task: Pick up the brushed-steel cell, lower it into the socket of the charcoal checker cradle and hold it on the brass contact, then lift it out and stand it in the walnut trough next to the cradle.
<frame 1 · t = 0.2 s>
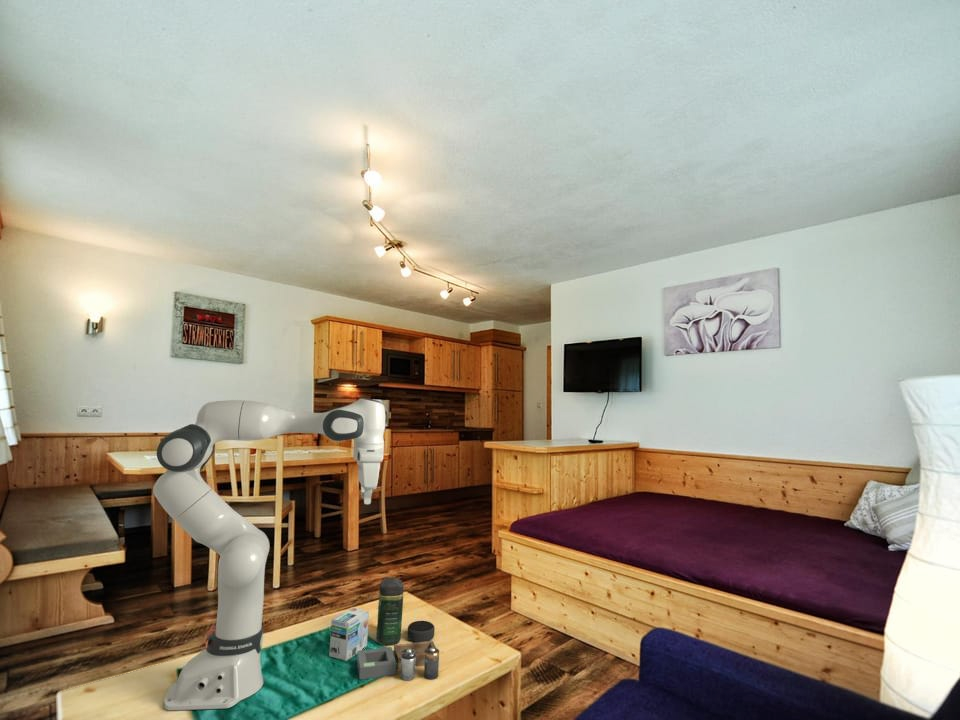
hand: (365, 500, 141), 47 cm above the table, fingers open, 8 cm apart
copper cell: (431, 675, 136), on the table
light bulb box: (348, 652, 148), on the table
cradle: (375, 668, 139), on the table
coffee jar: (388, 640, 157), on the table
trough: (415, 659, 144), on the table
steel cell: (407, 677, 135), on the table
smart speaker: (420, 638, 159), on the table
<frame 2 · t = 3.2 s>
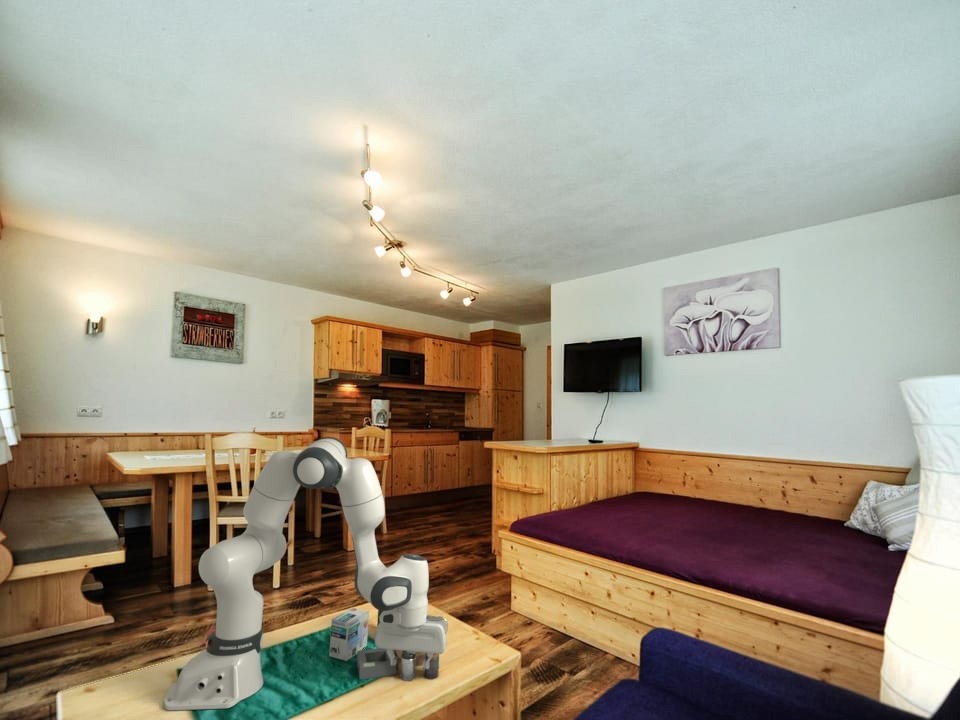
hand: (409, 666, 134), 3 cm above the table, fingers open, 8 cm apart
copper cell: (431, 675, 136), on the table, touching gripper
everything else where it was.
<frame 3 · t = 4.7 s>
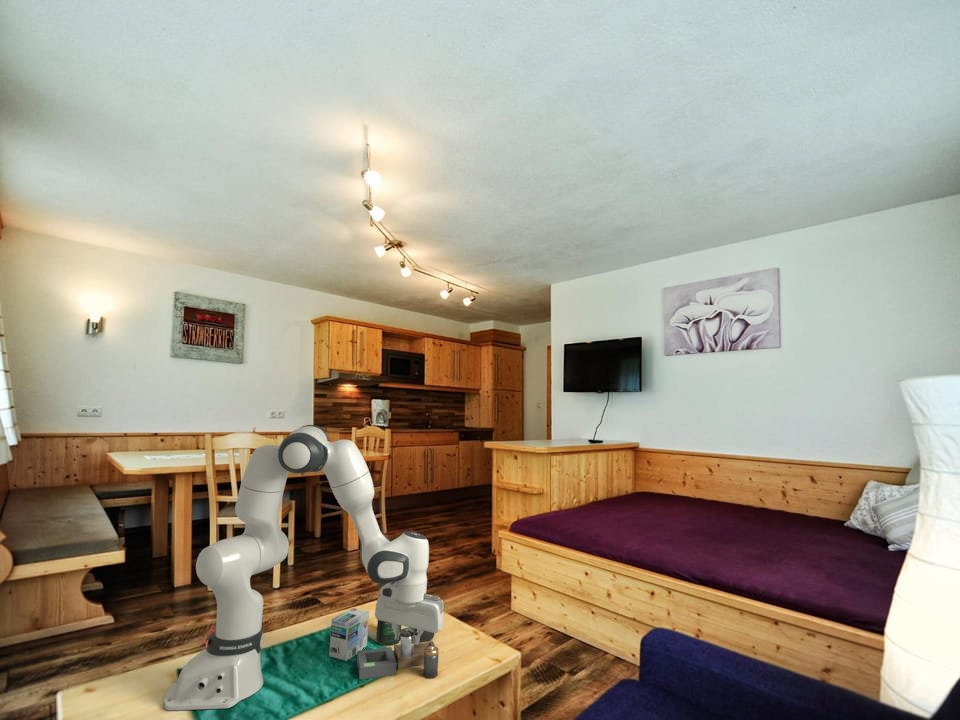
hand: (406, 641, 136), 9 cm above the table, fingers closed on steel cell, 4 cm apart
copper cell: (430, 674, 136), on the table
steel cell: (407, 655, 136), point 5 cm above the table, touching gripper
everything else where it was.
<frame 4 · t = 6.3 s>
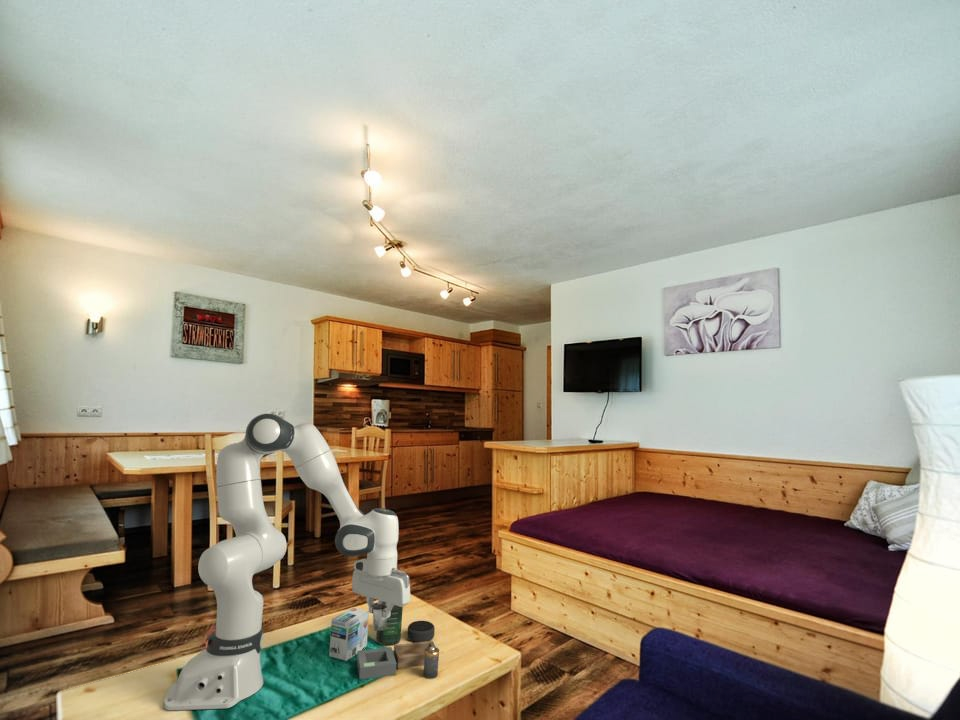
hand: (379, 614, 140), 15 cm above the table, fingers closed on steel cell, 4 cm apart
steel cell: (380, 628, 140), point 11 cm above the table, tilted 6°, touching gripper
everything else where it was.
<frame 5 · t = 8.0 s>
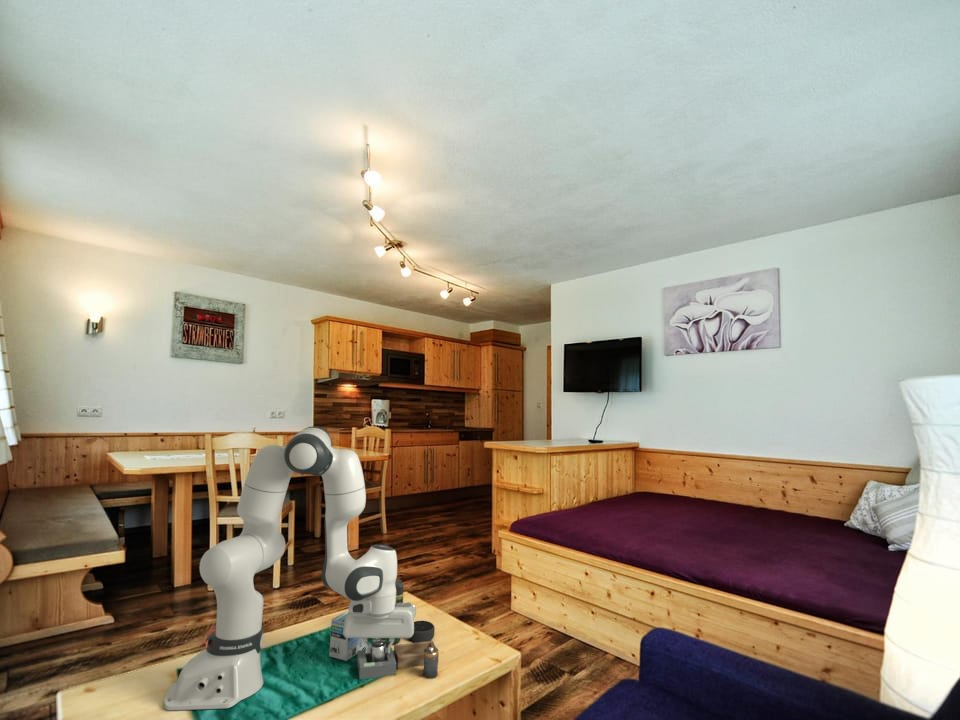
hand: (378, 652, 139), 4 cm above the table, fingers closed on steel cell, 4 cm apart
steel cell: (377, 665, 139), point 1 cm above the table, touching gripper
everything else where it was.
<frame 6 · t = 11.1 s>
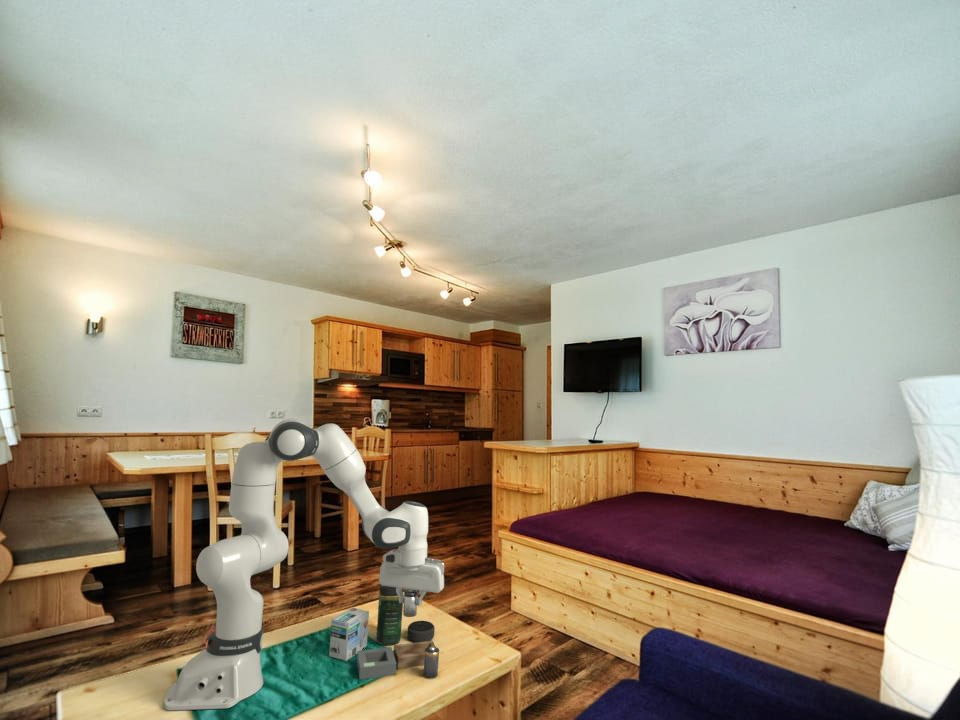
hand: (410, 603, 145), 16 cm above the table, fingers closed on steel cell, 4 cm apart
steel cell: (409, 614, 145), point 13 cm above the table, touching gripper
everything else where it was.
when the fingers open (4 cm above the table, at t = 13.6 s): steel cell stays where it is, resting on trough.
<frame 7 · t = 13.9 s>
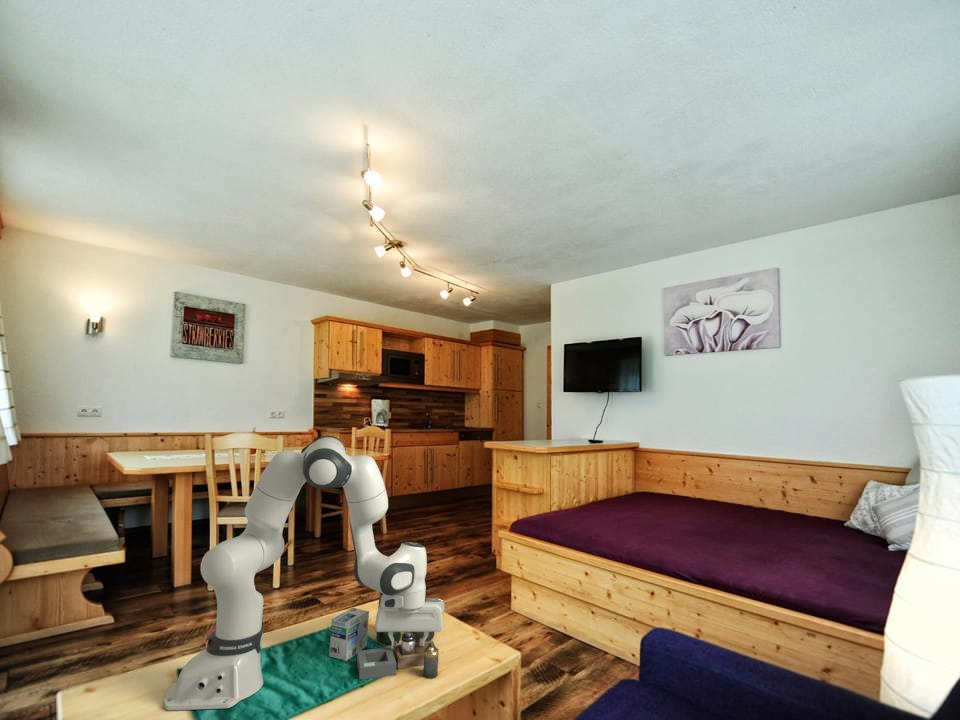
hand: (408, 646, 144), 4 cm above the table, fingers open, 7 cm apart
steel cell: (407, 659, 143), point 1 cm above the table, touching trough
everything else where it was.
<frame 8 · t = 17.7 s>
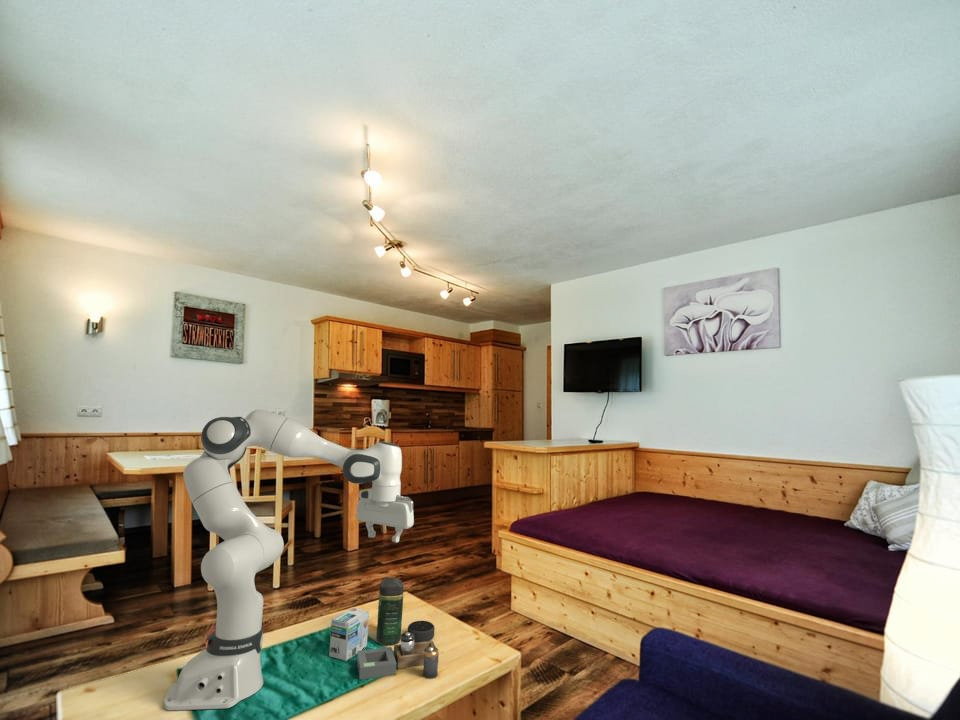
hand: (383, 539, 150), 34 cm above the table, fingers open, 8 cm apart
nothing on the table moved.
at the end: steel cell inside the target area on the trough (0.4 cm from its centre), point 0.6 cm above the trough's base; steel cell tilted 2°; the gripper is holding nothing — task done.
